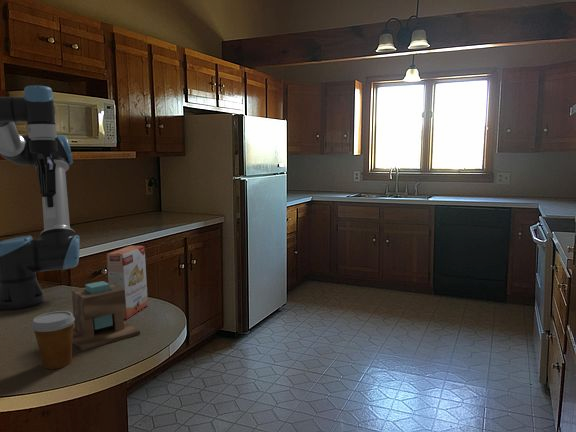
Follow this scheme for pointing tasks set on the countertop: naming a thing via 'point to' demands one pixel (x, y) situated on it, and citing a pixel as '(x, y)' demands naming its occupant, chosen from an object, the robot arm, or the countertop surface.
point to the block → (94, 289)
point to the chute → (95, 307)
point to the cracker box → (129, 276)
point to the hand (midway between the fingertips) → (50, 217)
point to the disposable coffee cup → (54, 338)
